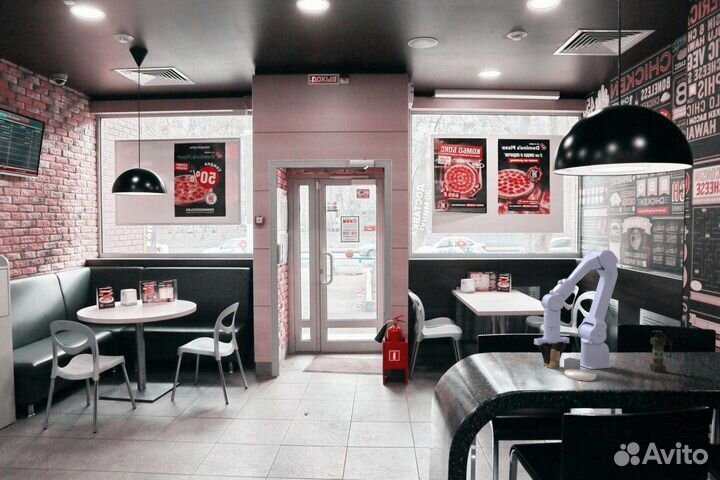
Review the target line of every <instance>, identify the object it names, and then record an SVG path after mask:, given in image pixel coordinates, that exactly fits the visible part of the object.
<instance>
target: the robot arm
mask: <svg viewBox="0 0 720 480" xmlns="http://www.w3.org/2000/svg"><path fill="white" fill-rule="evenodd" d="M618 261H619V259H618V257H617V256H616V255H615V253H614V252H613V251H612V250H610V249H607V250H606V249H602V250H601V249H591V250H590V251H588V253H587V254H586V255H584V257H583V259H582V260H581V262H580V263H579V264H578V265H577V266H576V268H575V269H574V270H573V271H572V272H571V274H570V275H569V276H568V278H563V279H560V280H558V282H557V285H556V286H554V288H553V289H551V290H550V291H549V293H547V294H545V295H544V296H543V297H542V300H540V304H541V307H543V336H542V337H538V338H534V339H533V340H534V341H533V344H534V345H536V346H537V347H538V349H539V350H540V353H541V356H542V358H543V359H542V360H543V364H544V363H546V364H549V362H550V353H551V349H553V350H556V351H560V359H561V358H562V355H563V353H564V351H565V349H566V348H567V344H570V337H567V336H561V309H563V308H564V306H565V305H564V304H565V301H566V300H567V299H568V298H569V297H570V296H571V295H572V294H573V292H575V290H576V285H577V283H579V281H581V280H582V279H583V277H585V276H586V275H588V273H589V272H591V271H593V270H596V272H597V273H598V274H599V275H598V276H599V280H598V283H597V287H596V289H595V293H594V297H593V300H592V303H591V307H590V309H589V312H588V315H587V316H586V317H584V318H583V320H582V322H581V324H580V325H579V326H578V328H577V334H578V336H579V338H580V345H581V346H580V367H583V368H586V369H589V370H599V369H600V370H601V369H609V368H610V369H611V368H612V367H611V365H610V348H609V346H608V344H606V343H605V341H606V340H607V328H608V326H607V324H606V322H605V319H606V316H607V312H608V309H609V305H610V301H611V299H612V295H613V293H614V289H615V286H616V283H617V279H618V276H619V274H618V266H617V263H618Z"/></svg>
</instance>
